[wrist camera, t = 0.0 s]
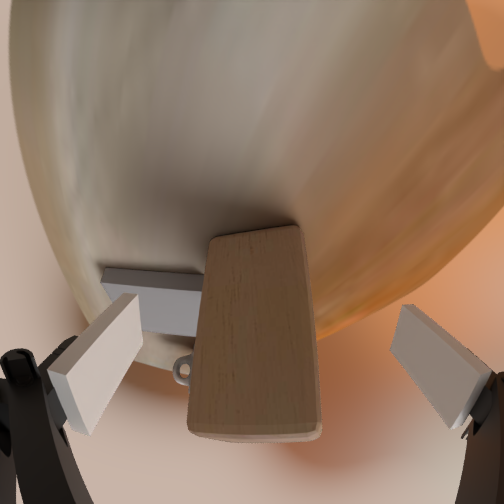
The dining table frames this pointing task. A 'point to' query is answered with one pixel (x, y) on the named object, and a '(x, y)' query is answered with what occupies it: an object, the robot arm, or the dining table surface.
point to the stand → (159, 298)
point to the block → (256, 342)
